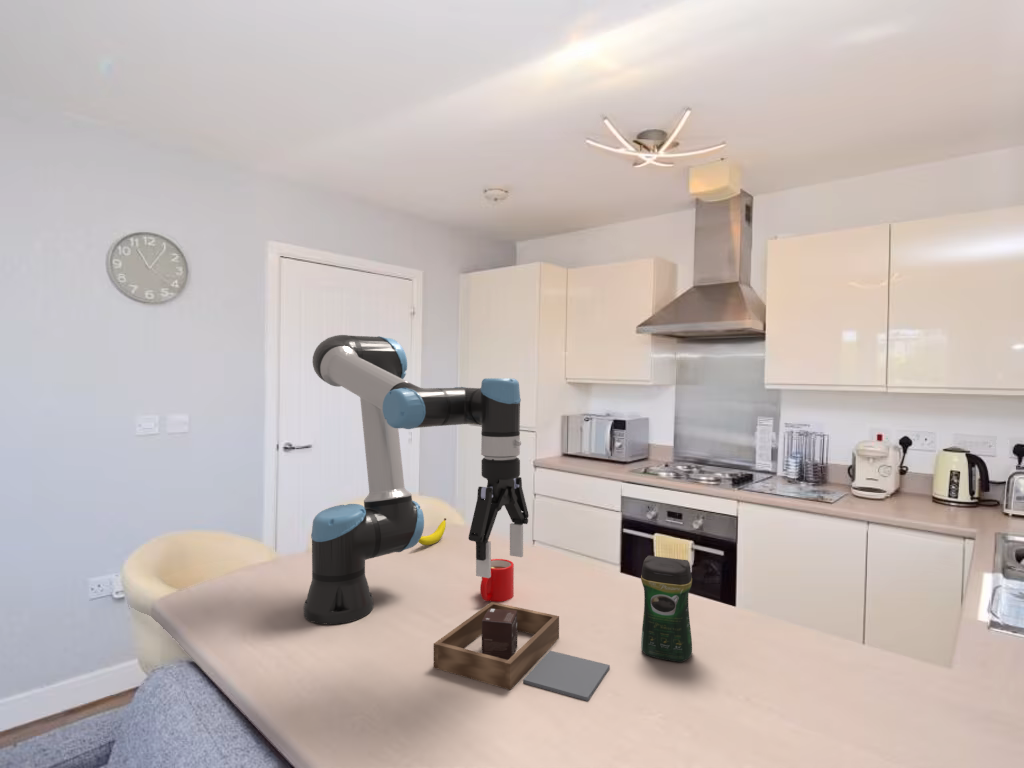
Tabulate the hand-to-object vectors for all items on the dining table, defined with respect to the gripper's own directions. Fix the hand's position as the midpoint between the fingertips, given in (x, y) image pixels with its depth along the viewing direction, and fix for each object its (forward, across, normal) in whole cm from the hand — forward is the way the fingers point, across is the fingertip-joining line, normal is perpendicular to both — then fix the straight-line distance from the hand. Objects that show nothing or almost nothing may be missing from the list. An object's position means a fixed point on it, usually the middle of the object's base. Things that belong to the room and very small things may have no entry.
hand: (500, 565), depth 111 cm
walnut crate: (+17, 0, 0) cm, 17 cm away
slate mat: (+17, -2, -15) cm, 23 cm away
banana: (+17, +52, +53) cm, 76 cm away
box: (+17, 0, 0) cm, 17 cm away
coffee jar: (+17, +15, -29) cm, 37 cm away
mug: (+17, +23, +14) cm, 32 cm away
